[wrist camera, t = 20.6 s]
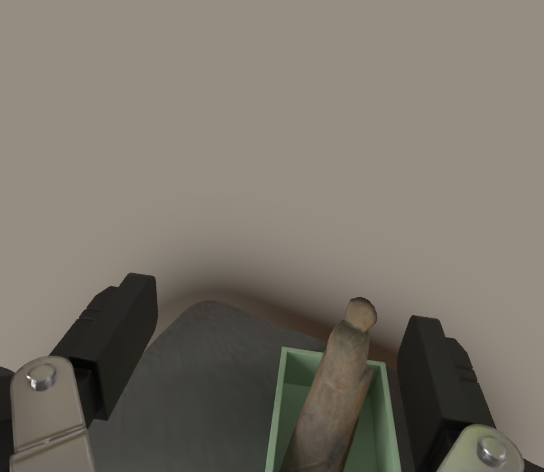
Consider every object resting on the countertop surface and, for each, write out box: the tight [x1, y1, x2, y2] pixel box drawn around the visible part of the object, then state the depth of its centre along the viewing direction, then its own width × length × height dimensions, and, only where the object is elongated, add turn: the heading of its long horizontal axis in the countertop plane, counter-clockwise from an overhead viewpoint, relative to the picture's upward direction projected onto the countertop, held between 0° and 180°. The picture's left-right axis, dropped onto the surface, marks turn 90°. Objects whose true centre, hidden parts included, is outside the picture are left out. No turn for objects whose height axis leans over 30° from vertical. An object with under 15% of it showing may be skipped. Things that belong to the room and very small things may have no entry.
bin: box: [265, 347, 401, 472], centre depth 39 cm, size 11×16×6 cm
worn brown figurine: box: [279, 297, 377, 472], centre depth 38 cm, size 12×6×18 cm, turn 148°
